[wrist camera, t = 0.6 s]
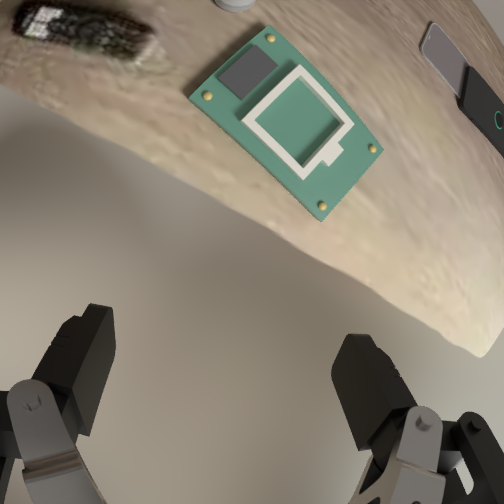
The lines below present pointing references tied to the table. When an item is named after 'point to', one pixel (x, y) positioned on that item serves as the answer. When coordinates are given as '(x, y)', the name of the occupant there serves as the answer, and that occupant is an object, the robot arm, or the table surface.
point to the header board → (289, 121)
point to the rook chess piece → (235, 4)
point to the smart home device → (483, 108)
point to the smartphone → (444, 57)
